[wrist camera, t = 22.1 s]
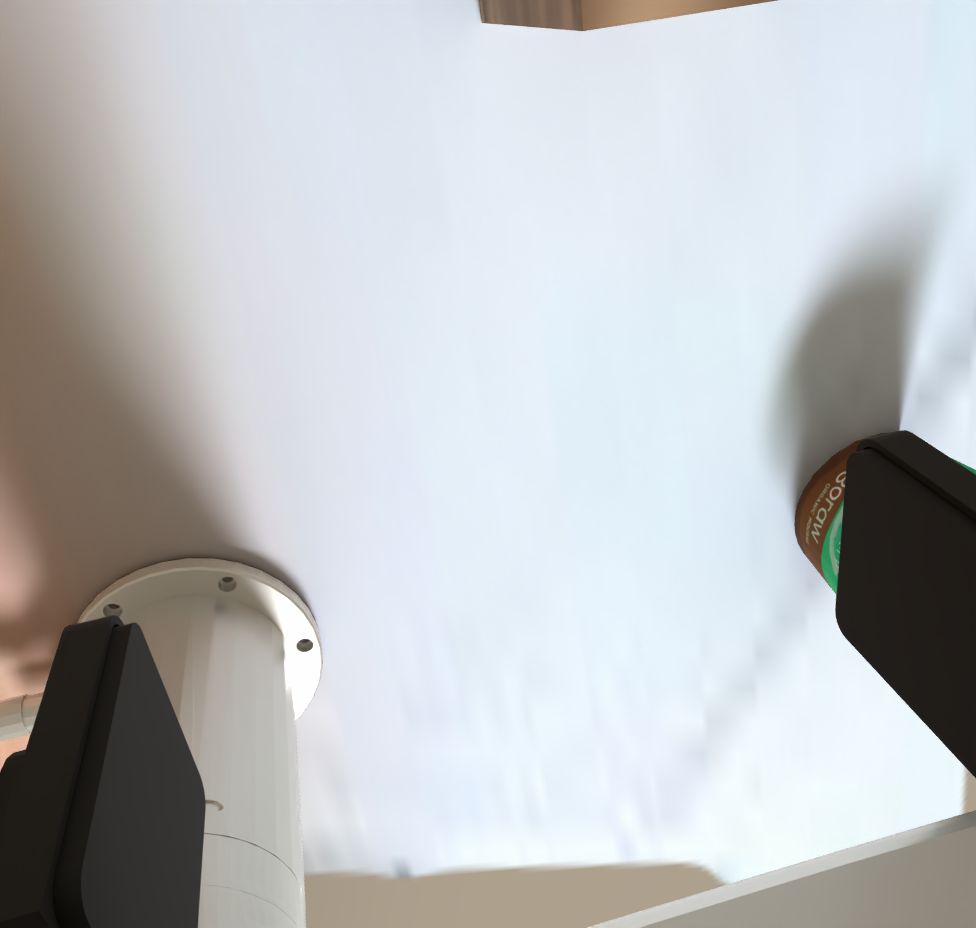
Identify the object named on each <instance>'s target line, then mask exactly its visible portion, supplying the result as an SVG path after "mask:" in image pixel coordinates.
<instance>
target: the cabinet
mask: <svg viewBox="0 0 976 928" xmlns="http://www.w3.org/2000/svg"><path fill="white" fill-rule="evenodd" d="M770 1H777V0H479V2H480V10H481V19H482V23H490V24H503V25H515V26H528V27H540V28H552V29H565V30H577V31H587V30H593V29H599V28H606V27H612V26H618V25H625V24H631V23H637V22H644V21H650V20H656V19H663V18H669V17H675V16H682V15H688V14H694V13H701V12H707V11H713V10H720V9H726V8H732V7H739V6H745V5H751V4H758V3H764V2H770Z"/></svg>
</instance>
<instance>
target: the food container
mask: <svg viewBox="0 0 976 928" xmlns="http://www.w3.org/2000/svg"><path fill="white" fill-rule="evenodd" d="M884 434H888V433H883V434H878V435H875V436H880V435H884ZM875 436H872V437H875ZM869 438H871V437H869ZM865 439H867V438H865ZM862 440H864V439H862ZM862 440H859V441H856V442H854V443H853V444H851V445H850V446H848V447H846V448H845V449H843V450H841V451H840V452H838V453H836V454H835V455H833V456H832V457H831V458H830V459H829V460H828V461H827V462H826V463H825V464H824V465H823V466H822V467H821V468H820V469H819V470H818V471H817V472H816V473H815V474H814V475H813V477H812V479H811V480H810V482H809V483H808V485H807V486H806V488H805V490H804V491H803V493H802V496H801V498H800V500H799V503H798V507H797V511H796V516H795V533H796V538H797V541H798V544H799V546H800V548H801V550H802V551H803V553H804V554H805V555H806V557H807V558H808V559H809V560H810V562H811V563H812V564H813V565H814V567H815V568H816V569H817V571H818V572H819V573H820V574H821V576H822V577H823V578H824V579H825V581H826V582H827V583H828V585H829V586H830V587H831V588H832V590H833V591H834V592H835V593H836V595H837V582H838V569H839V556H840V543H841V530H842V517H843V504H844V491H845V478H846V465H847V460H848V458H849V456H850V455H851V454H852V453H854V452H856V449H857V446H858V445H859V443H860V442H861V441H862ZM951 459H952V458H951ZM953 460H954V459H953ZM954 461H956V460H954ZM956 462H957V463H959V464H960V465H962V466H963V467H965V468H966V469H968V470H969V471H971V472H973V473H974V474H976V470H974V469H972V468H970V467H968V466H966V465H964V464H962V463H960V462H958V461H956Z"/></svg>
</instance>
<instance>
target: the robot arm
mask: <svg viewBox="0 0 976 928" xmlns="http://www.w3.org/2000/svg"><path fill="white" fill-rule="evenodd" d="M226 577H230V578H226ZM835 611H836V619H837V623H838V625H839V628H840V630H841V632H842V634H843V635H844V636H845V638H846V639H847V640H848V641H849V642H850V643H851V644H852V645H853V646H854V647H855V649H856V650H857V651H858V652H859V653H860V654H861V655H862V656H863V657H864V658H865V659H866V660H867V661H868V663H869V664H870V665H871V666H872V667H873V668H874V669H875V670H876V671H877V672H878V673H879V674H880V675H881V677H882V678H883V679H884V680H885V681H886V682H887V683H888V684H889V685H890V686H891V687H892V688H893V690H894V691H895V692H896V693H897V694H898V695H899V696H900V697H901V698H902V699H903V700H904V701H905V702H906V704H907V705H908V706H909V707H910V708H911V709H912V710H913V711H914V712H915V713H916V714H917V715H918V716H919V718H920V719H921V720H922V721H923V722H924V723H925V724H926V725H927V726H928V727H929V728H930V729H931V730H932V732H933V733H934V734H935V735H936V736H937V737H938V738H939V739H940V740H941V741H942V742H943V743H944V745H945V746H946V747H947V748H948V749H949V750H950V751H951V752H952V753H953V754H954V755H955V756H956V757H957V759H958V760H959V761H960V762H961V763H962V764H963V765H964V766H965V767H966V768H967V769H968V770H969V771H970V772H971V774H972V775H973V776H974V777H975V778H976V474H974V473H973V472H971V471H969V470H968V469H966V468H965V467H963V466H962V465H960V464H959V463H957V462H956V461H954V460H953V459H951V458H950V457H948V456H947V455H945V454H944V453H942V452H940V451H939V450H937V449H936V448H934V447H933V446H931V445H930V444H928V443H927V442H925V441H924V440H922V439H921V438H919V437H918V436H916V435H915V434H913V433H911V432H909V431H906V430H904V431H897V432H892V433H888V434H884V435H880V436H875V437H871V438H867V439H864V440H862V441H861V442H860V443H859V445H858V446H857V449H856V452H854V453H852V454H851V455H850V456H849V458H848V460H847V465H846V478H845V491H844V504H843V517H842V530H841V543H840V556H839V569H838V582H837V595H836V608H835ZM322 664H323V660H322V645H321V640H320V635H319V631H318V626H317V624H316V622H315V620H314V618H313V616H312V614H311V612H310V610H309V609H308V607H307V606H306V605H305V604H304V602H303V601H302V600H301V599H300V598H299V596H298V595H297V594H296V593H295V592H293V591H292V590H291V589H290V588H289V587H287V586H286V585H285V584H284V583H283V582H281V581H280V580H278V579H276V578H274V577H272V576H271V575H269V574H267V573H265V572H263V571H261V570H259V569H256V568H253V567H250V566H247V565H244V564H241V563H238V562H232V561H226V560H220V559H214V558H186V559H180V560H173V561H166V562H161V563H158V564H155V565H151V566H148V567H145V568H142V569H139V570H137V571H135V572H133V573H131V574H129V575H127V576H125V577H123V578H121V579H119V580H117V581H115V582H114V583H113V584H112V585H110V586H109V587H108V588H106V589H105V590H104V591H102V592H101V593H100V594H98V595H97V596H96V598H95V599H94V600H93V601H92V602H91V603H90V604H89V605H88V607H87V608H86V609H85V610H84V611H83V613H82V615H81V616H80V618H79V620H78V622H77V624H74V625H69V626H67V627H65V629H64V631H63V633H62V636H61V639H60V642H59V645H58V649H57V652H56V655H55V658H54V661H53V665H52V668H51V671H50V674H49V677H48V681H47V684H46V687H45V690H44V692H42V693H38V694H34V695H30V696H29V695H27V694H26V695H22V696H18V697H13V698H9V699H5V700H1V701H0V742H3V741H7V740H11V739H15V738H19V737H23V736H27V735H30V738H29V742H28V745H27V748H26V750H23V751H19V752H15V753H13V754H12V755H10V756H9V757H8V758H7V759H6V761H5V763H4V765H3V767H2V769H1V772H0V928H306V914H305V889H304V869H303V850H302V831H301V811H300V792H299V773H298V754H297V734H296V720H297V719H298V718H299V717H300V716H301V715H302V714H303V713H304V711H305V710H306V708H307V707H308V705H309V704H310V702H311V701H312V699H313V697H314V695H315V692H316V690H317V687H318V685H319V682H320V678H321V671H322ZM587 928H976V810H975V811H972V812H969V813H965V814H962V815H959V816H955V817H952V818H948V819H945V820H942V821H938V822H935V823H932V824H928V825H925V826H921V827H918V828H915V829H911V830H908V831H905V832H901V833H898V834H894V835H891V836H888V837H884V838H881V839H878V840H874V841H871V842H867V843H864V844H861V845H857V846H854V847H851V848H847V849H844V850H841V851H837V852H834V853H831V854H828V855H824V856H821V857H818V858H814V859H811V860H808V861H804V862H801V863H798V864H794V865H791V866H788V867H784V868H781V869H778V870H775V871H771V872H768V873H765V874H761V875H758V876H755V877H751V878H748V879H745V880H741V881H738V882H735V883H731V884H728V885H725V886H722V887H718V888H715V889H712V890H709V891H705V892H702V893H699V894H696V895H692V896H689V897H686V898H682V899H679V900H676V901H672V902H669V903H666V904H662V905H659V906H656V907H653V908H649V909H646V910H643V911H639V912H636V913H633V914H629V915H626V916H623V917H620V918H616V919H613V920H610V921H607V922H603V923H600V924H597V925H594V926H590V927H587Z"/></svg>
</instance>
